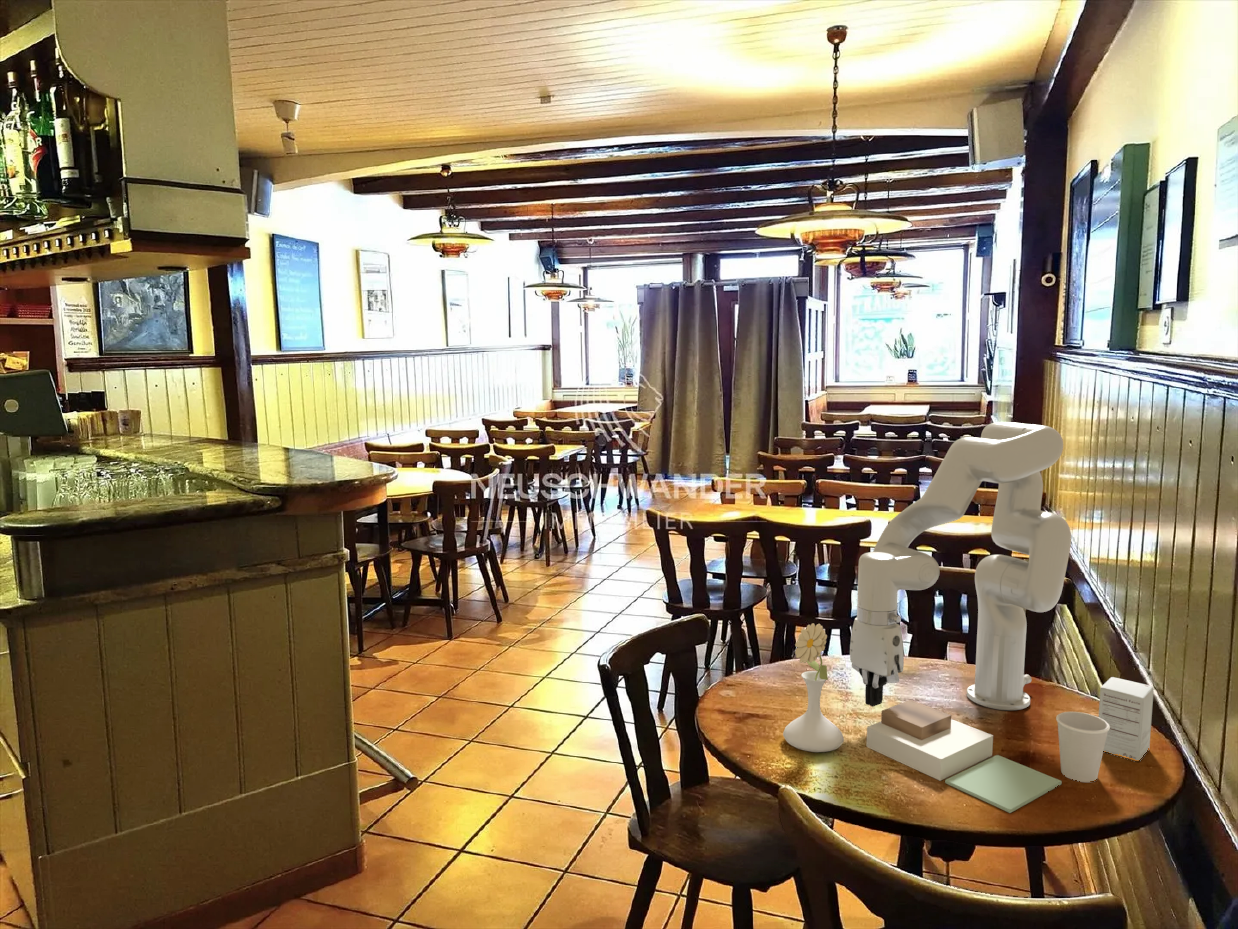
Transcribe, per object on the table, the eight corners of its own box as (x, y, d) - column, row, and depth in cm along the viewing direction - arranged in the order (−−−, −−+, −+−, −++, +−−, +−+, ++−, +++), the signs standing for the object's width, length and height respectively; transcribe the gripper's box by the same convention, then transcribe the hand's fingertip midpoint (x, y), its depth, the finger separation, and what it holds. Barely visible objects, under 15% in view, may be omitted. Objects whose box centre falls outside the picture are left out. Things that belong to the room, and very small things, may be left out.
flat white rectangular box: (918, 725, 171) (919, 706, 171) (992, 755, 158) (993, 735, 158) (866, 746, 162) (867, 727, 162) (940, 780, 149) (941, 759, 149)
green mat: (997, 757, 157) (997, 754, 157) (1061, 784, 148) (1061, 781, 148) (945, 783, 148) (945, 780, 148) (1010, 813, 139) (1010, 809, 139)
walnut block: (910, 711, 168) (910, 699, 168) (950, 727, 161) (951, 715, 161) (881, 723, 163) (881, 710, 163) (921, 740, 156) (922, 727, 156)
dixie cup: (1087, 791, 145) (1091, 735, 144) (1042, 770, 153) (1045, 717, 151) (1116, 779, 149) (1120, 725, 148) (1071, 759, 157) (1075, 707, 155)
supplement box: (1106, 737, 165) (1111, 675, 164) (1150, 750, 160) (1155, 686, 158) (1094, 750, 160) (1099, 686, 159) (1139, 763, 155) (1144, 697, 153)
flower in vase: (779, 730, 169) (781, 609, 166) (837, 732, 169) (840, 610, 165) (788, 762, 156) (791, 631, 153) (851, 763, 156) (855, 632, 153)
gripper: (921, 621, 164) (917, 712, 166) (859, 603, 176) (856, 687, 178) (896, 628, 159) (892, 721, 162) (834, 609, 172) (832, 696, 174)
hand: (873, 703), depth 170 cm, fingers closed
